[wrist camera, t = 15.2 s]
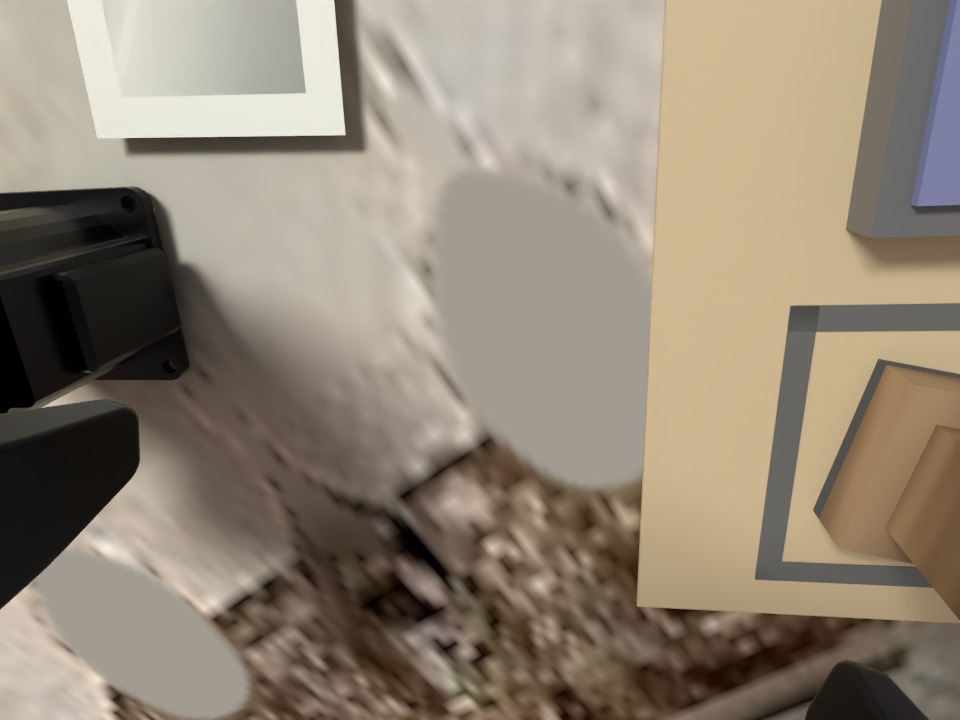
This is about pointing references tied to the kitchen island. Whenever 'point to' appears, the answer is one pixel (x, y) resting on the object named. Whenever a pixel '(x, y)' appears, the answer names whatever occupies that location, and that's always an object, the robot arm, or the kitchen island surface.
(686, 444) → the board
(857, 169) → the ink pad
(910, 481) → the walnut stamp
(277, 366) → the kitchen island surface
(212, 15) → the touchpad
